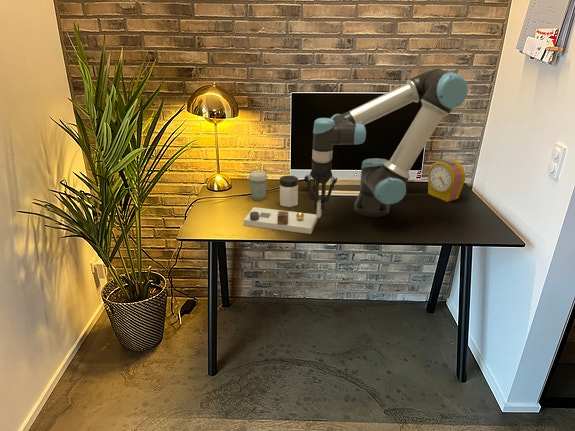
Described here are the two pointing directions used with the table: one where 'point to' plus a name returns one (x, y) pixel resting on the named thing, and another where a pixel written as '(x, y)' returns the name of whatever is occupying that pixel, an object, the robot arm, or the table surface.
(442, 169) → the alarm clock
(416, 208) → the table surface
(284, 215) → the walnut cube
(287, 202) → the jar
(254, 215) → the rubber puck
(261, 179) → the coffee cup
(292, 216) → the plate
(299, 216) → the ball
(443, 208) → the table surface
